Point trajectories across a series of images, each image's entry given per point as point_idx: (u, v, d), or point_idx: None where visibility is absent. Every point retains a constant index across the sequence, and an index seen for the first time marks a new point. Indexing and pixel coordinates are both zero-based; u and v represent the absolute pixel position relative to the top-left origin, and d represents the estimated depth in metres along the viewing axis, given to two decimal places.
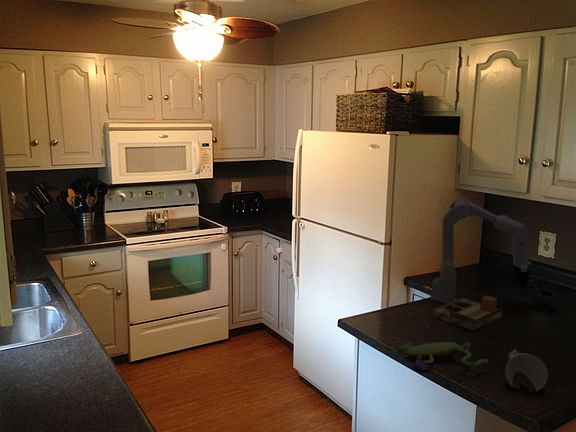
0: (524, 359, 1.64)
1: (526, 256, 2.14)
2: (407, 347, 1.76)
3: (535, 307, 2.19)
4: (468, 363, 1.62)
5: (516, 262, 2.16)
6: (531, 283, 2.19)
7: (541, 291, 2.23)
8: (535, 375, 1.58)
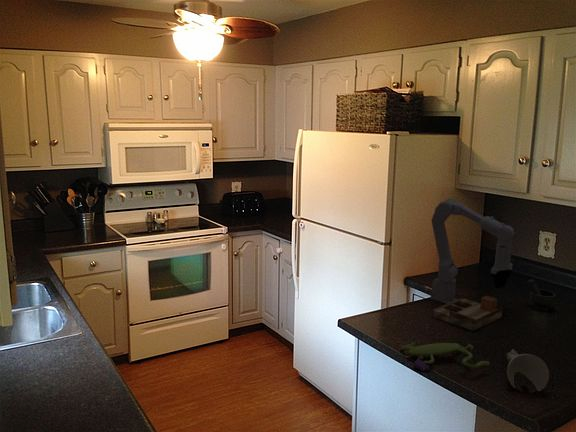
0: (523, 359, 1.64)
1: (505, 260, 2.09)
2: (409, 347, 1.76)
3: (535, 307, 2.19)
4: (468, 364, 1.61)
5: (495, 263, 2.12)
6: (531, 283, 2.19)
7: (541, 291, 2.23)
8: (536, 375, 1.58)
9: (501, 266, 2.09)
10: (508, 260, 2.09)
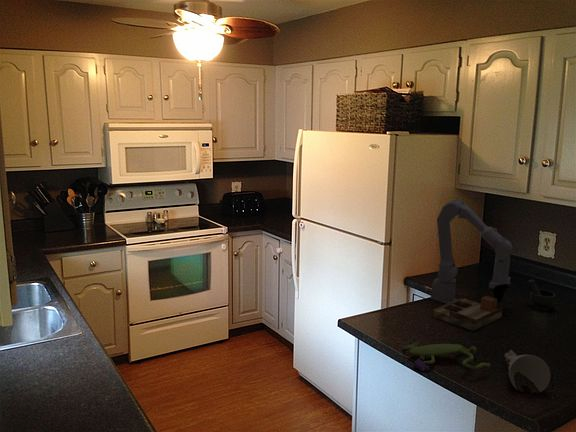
0: (522, 360, 1.64)
1: (503, 274, 2.10)
2: (411, 347, 1.76)
3: (535, 307, 2.19)
4: (468, 366, 1.60)
5: (493, 278, 2.13)
6: (531, 283, 2.19)
7: (541, 291, 2.23)
8: (536, 376, 1.58)
9: (499, 280, 2.10)
10: (506, 274, 2.10)
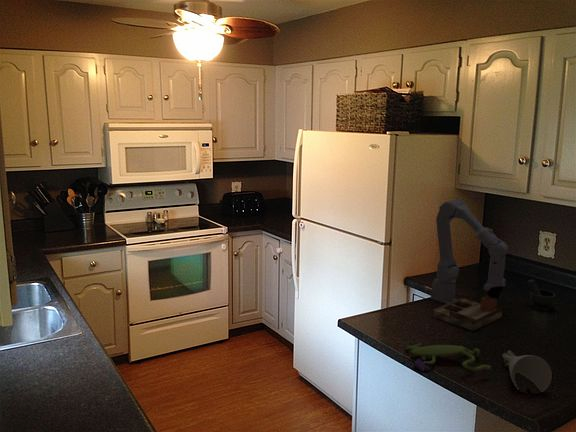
0: (521, 360, 1.63)
1: (498, 276, 2.07)
2: (413, 347, 1.76)
3: (535, 307, 2.19)
4: (468, 367, 1.59)
5: (488, 280, 2.10)
6: (531, 283, 2.19)
7: (541, 291, 2.23)
8: (536, 376, 1.58)
9: (494, 282, 2.08)
10: (501, 276, 2.07)
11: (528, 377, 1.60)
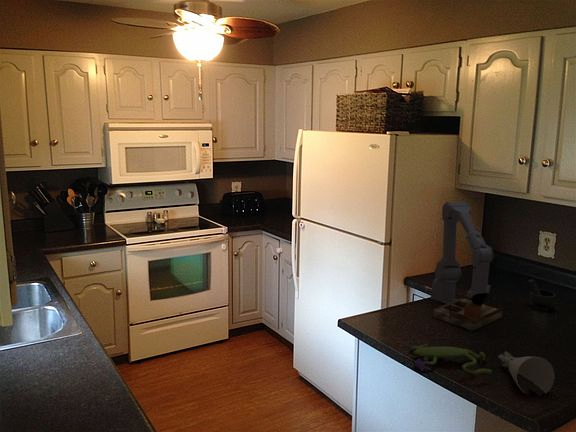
0: None
1: (481, 283, 1.99)
2: (417, 347, 1.76)
3: (535, 307, 2.19)
4: (467, 370, 1.58)
5: (471, 286, 2.02)
6: (531, 283, 2.19)
7: (541, 291, 2.23)
8: (537, 376, 1.58)
9: (478, 289, 1.99)
10: (485, 283, 1.99)
11: (528, 378, 1.60)
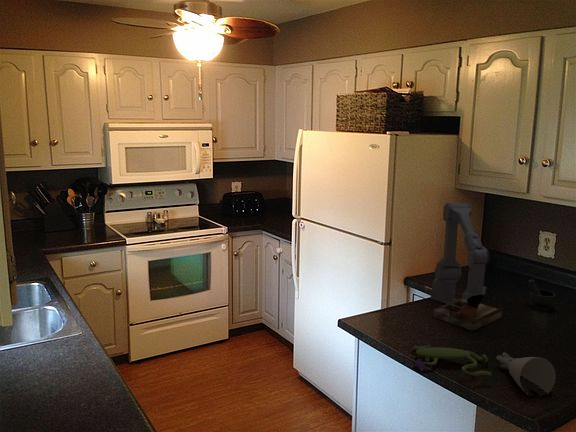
0: None
1: (477, 284, 1.96)
2: (419, 347, 1.75)
3: (535, 307, 2.19)
4: (466, 371, 1.57)
5: (467, 288, 2.00)
6: (531, 283, 2.19)
7: (541, 291, 2.23)
8: (537, 376, 1.58)
9: (473, 291, 1.97)
10: (481, 284, 1.97)
11: (528, 378, 1.59)
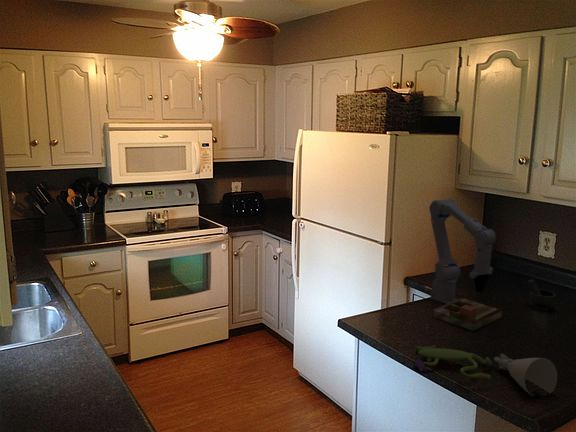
0: None
1: (484, 264, 2.04)
2: (423, 348, 1.75)
3: (535, 307, 2.19)
4: (464, 373, 1.56)
5: (474, 267, 2.08)
6: (531, 283, 2.19)
7: (541, 291, 2.23)
8: (537, 376, 1.58)
9: (480, 270, 2.05)
10: (487, 264, 2.05)
11: (528, 379, 1.59)
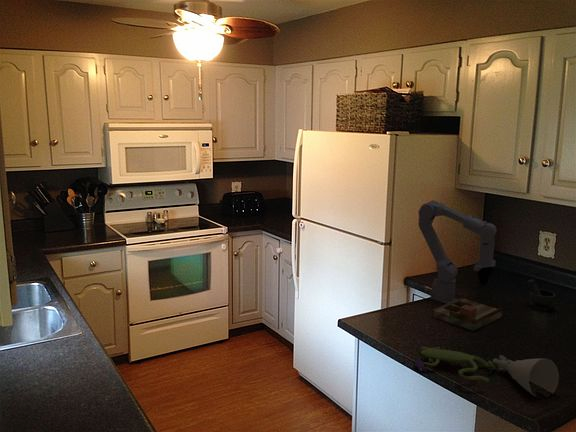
0: None
1: (487, 257, 2.12)
2: (426, 348, 1.75)
3: (535, 307, 2.19)
4: (461, 375, 1.55)
5: (478, 261, 2.15)
6: (531, 283, 2.19)
7: (541, 291, 2.23)
8: (538, 377, 1.57)
9: (484, 263, 2.13)
10: (491, 257, 2.12)
11: (529, 379, 1.59)
